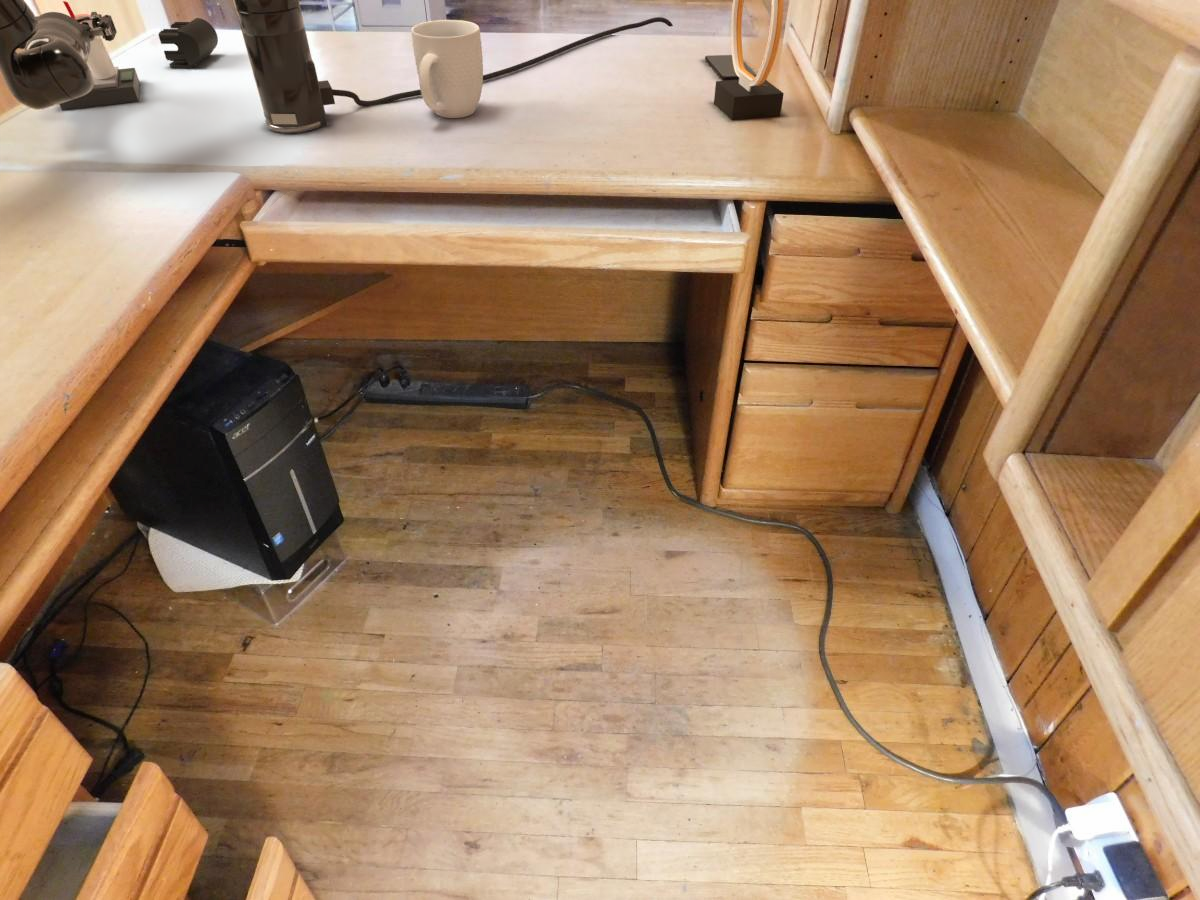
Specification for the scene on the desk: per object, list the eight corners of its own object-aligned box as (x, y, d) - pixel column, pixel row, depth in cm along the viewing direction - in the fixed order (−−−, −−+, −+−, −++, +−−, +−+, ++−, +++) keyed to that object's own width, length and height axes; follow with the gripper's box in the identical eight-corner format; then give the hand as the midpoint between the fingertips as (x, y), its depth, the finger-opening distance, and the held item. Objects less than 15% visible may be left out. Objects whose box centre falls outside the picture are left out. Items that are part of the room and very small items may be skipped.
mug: (460, 134, 124) (451, 46, 116) (399, 126, 127) (385, 39, 118) (497, 105, 135) (490, 22, 126) (440, 98, 137) (430, 17, 129)
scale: (139, 82, 143) (133, 63, 141) (138, 101, 135) (131, 82, 133) (67, 89, 140) (59, 70, 138) (61, 110, 132) (53, 90, 130)
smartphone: (737, 54, 157) (758, 75, 145) (736, 59, 157) (757, 80, 146) (704, 55, 156) (722, 76, 145) (703, 60, 156) (722, 81, 145)
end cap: (205, 69, 150) (193, 30, 145) (168, 69, 150) (155, 30, 145) (223, 54, 157) (212, 17, 153) (188, 54, 157) (176, 17, 152)
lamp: (789, 124, 129) (828, -108, 108) (740, 128, 127) (769, -107, 106) (751, 93, 141) (779, -122, 120) (706, 96, 139) (726, -120, 118)
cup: (118, 64, 137) (77, -9, 128) (125, 74, 134) (82, 1, 125) (88, 74, 136) (43, 1, 126) (93, 85, 133) (48, 11, 123)
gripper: (100, 13, 118) (105, -9, 129) (-7, 22, 114) (8, -1, 125) (120, 66, 123) (124, 41, 134) (18, 77, 119) (31, 49, 130)
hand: (68, 20), depth 129 cm, fingers open, 8 cm apart
